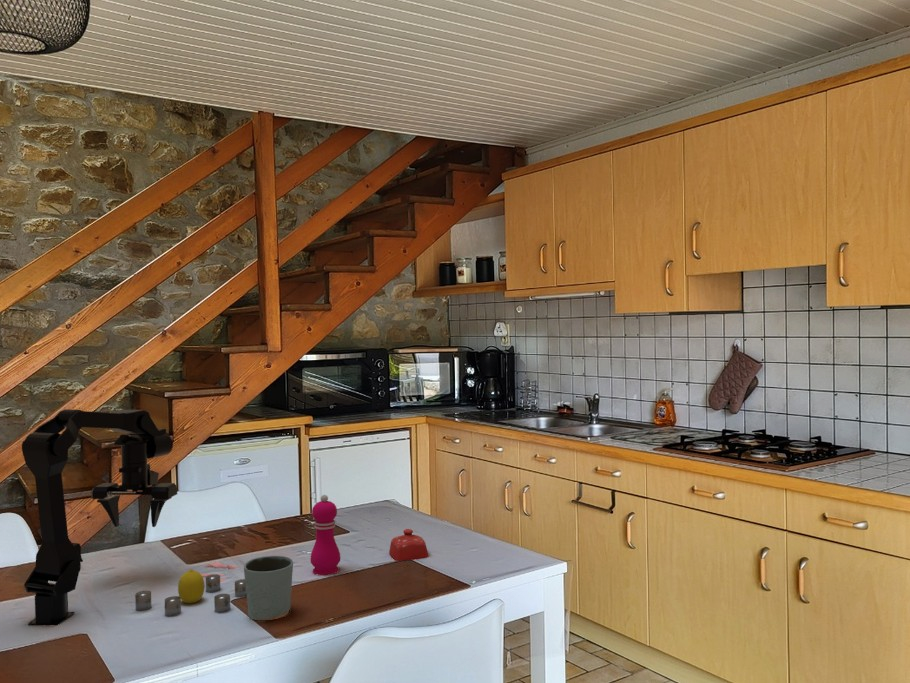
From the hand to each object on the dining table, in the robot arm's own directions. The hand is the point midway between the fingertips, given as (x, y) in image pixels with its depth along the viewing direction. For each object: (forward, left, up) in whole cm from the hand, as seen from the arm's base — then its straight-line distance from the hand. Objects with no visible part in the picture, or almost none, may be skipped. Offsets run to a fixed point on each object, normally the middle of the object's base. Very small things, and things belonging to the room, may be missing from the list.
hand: (135, 526), depth 183 cm
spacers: (-14, -20, -14) cm, 27 cm away
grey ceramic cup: (-21, -40, -14) cm, 47 cm away
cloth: (+7, -16, -14) cm, 23 cm away
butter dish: (+19, -63, -14) cm, 67 cm away
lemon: (-14, -20, -14) cm, 28 cm away
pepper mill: (+6, -45, -14) cm, 47 cm away
